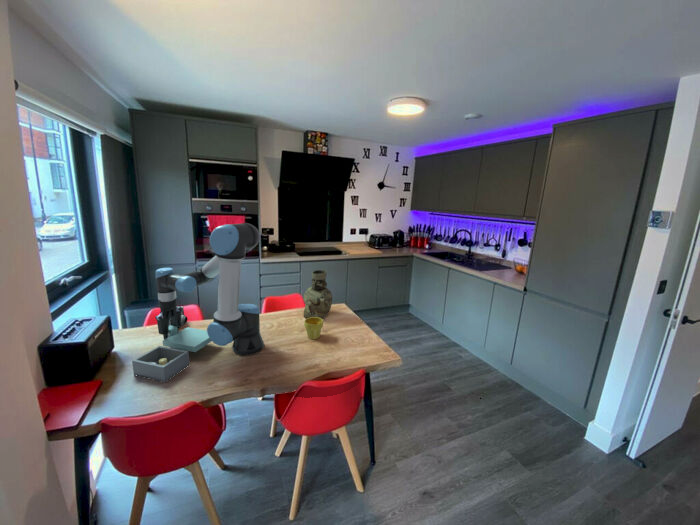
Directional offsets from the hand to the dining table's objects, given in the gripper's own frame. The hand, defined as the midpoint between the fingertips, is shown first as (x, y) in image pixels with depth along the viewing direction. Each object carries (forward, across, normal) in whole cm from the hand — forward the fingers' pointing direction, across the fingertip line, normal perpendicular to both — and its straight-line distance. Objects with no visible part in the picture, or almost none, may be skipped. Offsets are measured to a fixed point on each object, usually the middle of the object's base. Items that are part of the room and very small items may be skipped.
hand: (172, 342), depth 145 cm
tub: (+2, +18, +13) cm, 22 cm away
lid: (-2, 0, +9) cm, 10 cm away
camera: (+2, -19, -15) cm, 24 cm away
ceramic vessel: (+2, -60, +56) cm, 82 cm away
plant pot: (+2, -32, +64) cm, 72 cm away
